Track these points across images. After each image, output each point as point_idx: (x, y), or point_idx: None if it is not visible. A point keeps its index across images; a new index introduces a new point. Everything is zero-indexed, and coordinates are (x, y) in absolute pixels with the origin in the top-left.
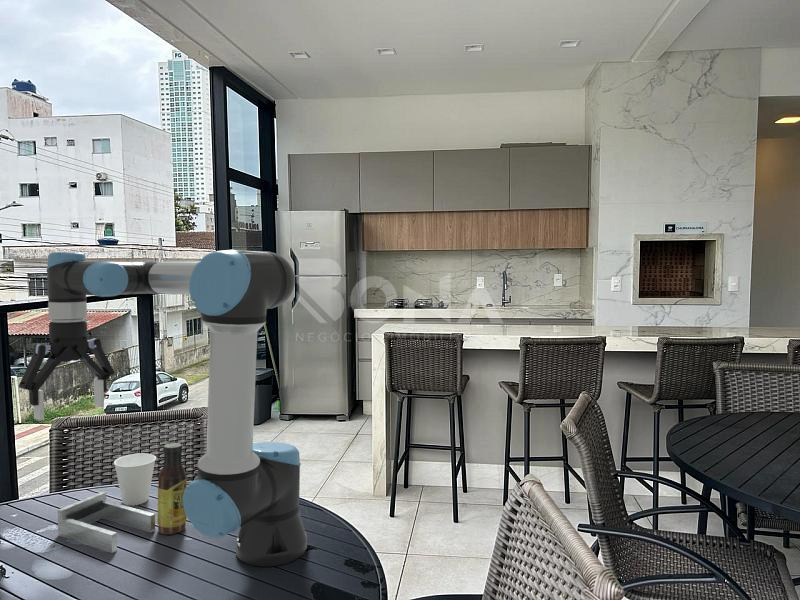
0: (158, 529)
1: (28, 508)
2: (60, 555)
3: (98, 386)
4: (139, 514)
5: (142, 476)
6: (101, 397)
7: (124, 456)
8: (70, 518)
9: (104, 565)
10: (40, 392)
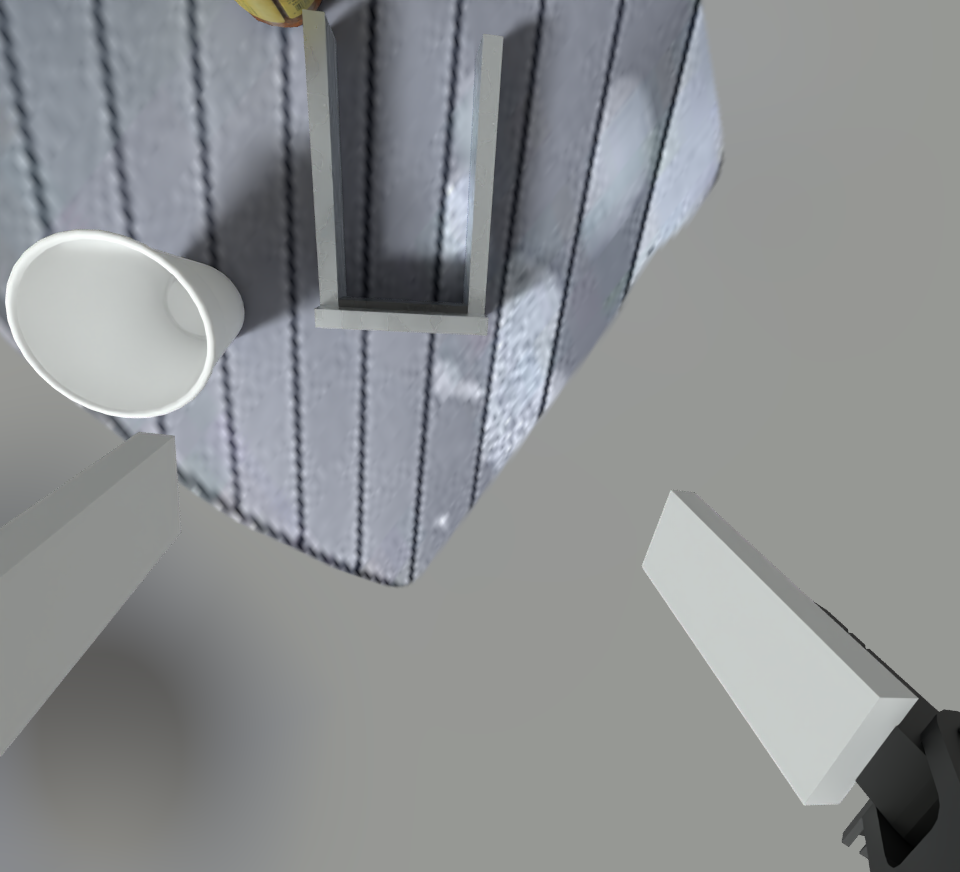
0: (318, 4)
1: (402, 528)
2: (553, 213)
3: (12, 620)
4: (329, 91)
5: (157, 250)
6: (101, 484)
7: (122, 411)
8: (459, 304)
9: (555, 18)
10: (892, 678)
